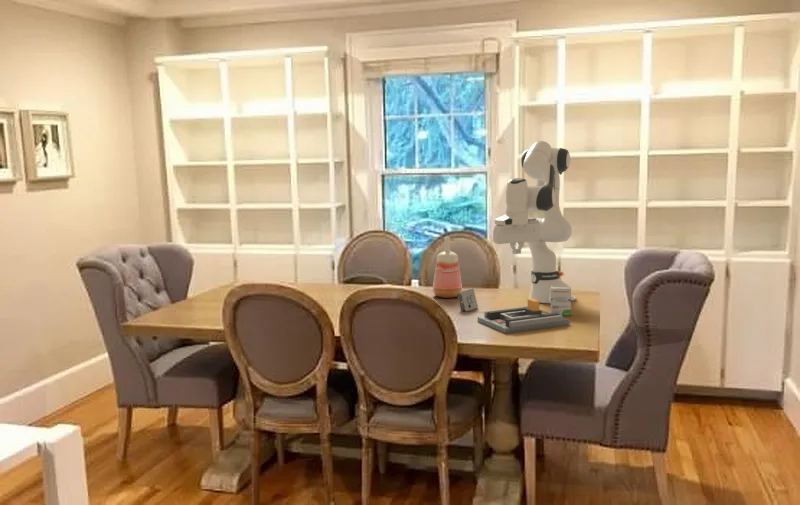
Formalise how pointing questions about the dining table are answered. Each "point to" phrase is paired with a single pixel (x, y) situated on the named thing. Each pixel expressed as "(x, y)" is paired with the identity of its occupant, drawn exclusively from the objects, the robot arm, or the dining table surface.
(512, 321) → the pair of panel rails
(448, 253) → the vase
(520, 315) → the panel
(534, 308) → the lever
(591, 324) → the dining table surface
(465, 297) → the electrical switch
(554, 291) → the ink box
